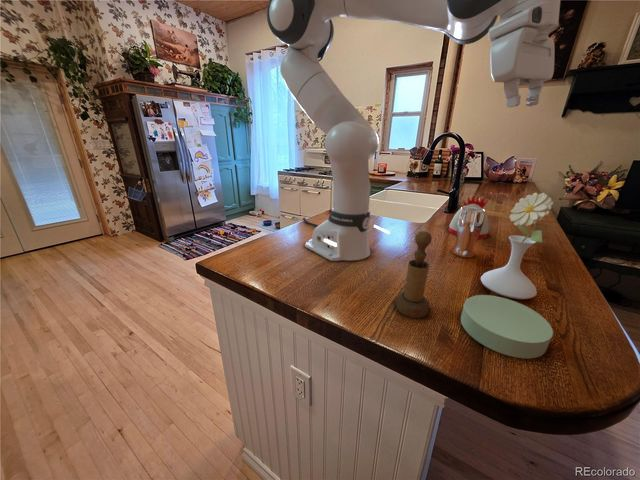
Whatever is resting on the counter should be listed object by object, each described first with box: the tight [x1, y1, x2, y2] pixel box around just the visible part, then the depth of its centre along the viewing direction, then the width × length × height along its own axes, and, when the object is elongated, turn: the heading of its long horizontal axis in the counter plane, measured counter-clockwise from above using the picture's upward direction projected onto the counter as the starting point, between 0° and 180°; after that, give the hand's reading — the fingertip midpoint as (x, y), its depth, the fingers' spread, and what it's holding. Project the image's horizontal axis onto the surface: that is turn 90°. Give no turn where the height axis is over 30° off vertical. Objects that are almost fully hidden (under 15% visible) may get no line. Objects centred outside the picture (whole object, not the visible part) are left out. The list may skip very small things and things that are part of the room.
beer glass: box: [452, 206, 487, 258], centre depth 81 cm, size 7×7×15 cm
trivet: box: [460, 294, 554, 359], centre depth 50 cm, size 14×14×4 cm
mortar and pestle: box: [395, 230, 433, 319], centre depth 53 cm, size 7×6×18 cm
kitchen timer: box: [448, 195, 490, 240], centre depth 101 cm, size 14×14×15 cm
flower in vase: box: [480, 192, 554, 300], centre depth 58 cm, size 13×11×25 cm
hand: (523, 106), depth 53 cm, fingers open, 8 cm apart
